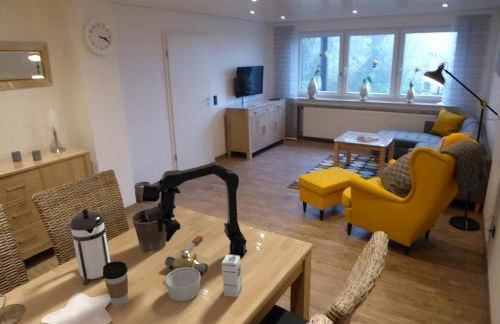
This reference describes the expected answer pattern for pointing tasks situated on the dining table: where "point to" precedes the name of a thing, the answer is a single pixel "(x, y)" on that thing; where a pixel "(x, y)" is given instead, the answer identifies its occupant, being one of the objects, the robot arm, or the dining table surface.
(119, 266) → the coffee cup
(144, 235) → the plant pot
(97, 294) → the dining table surface
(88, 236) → the coffee press
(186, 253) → the valve lever
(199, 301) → the dining table surface
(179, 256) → the valve body
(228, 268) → the syrup box
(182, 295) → the ramekin
